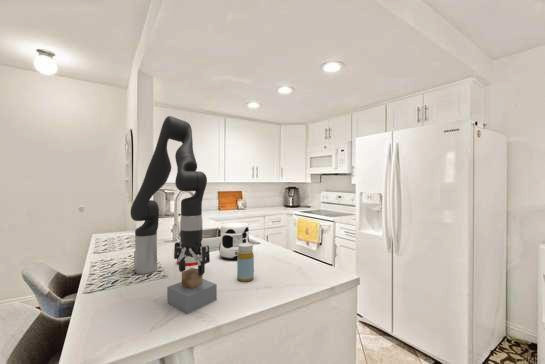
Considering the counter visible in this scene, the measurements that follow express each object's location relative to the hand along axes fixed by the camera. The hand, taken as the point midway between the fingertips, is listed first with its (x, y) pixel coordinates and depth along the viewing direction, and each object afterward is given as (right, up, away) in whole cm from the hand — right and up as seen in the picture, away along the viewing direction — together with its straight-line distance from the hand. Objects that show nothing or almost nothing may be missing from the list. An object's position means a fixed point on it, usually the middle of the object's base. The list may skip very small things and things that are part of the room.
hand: (191, 273), depth 89 cm
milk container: (+8, -10, +52) cm, 53 cm away
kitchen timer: (-14, -10, +43) cm, 46 cm away
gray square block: (0, -10, 0) cm, 10 cm away
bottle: (+17, -10, +20) cm, 28 cm away
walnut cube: (0, -4, 0) cm, 4 cm away
